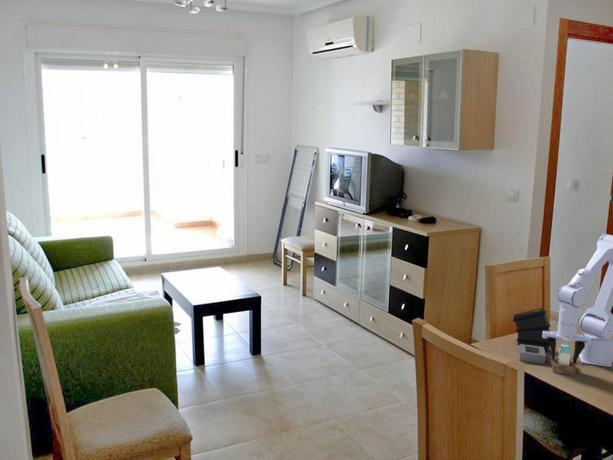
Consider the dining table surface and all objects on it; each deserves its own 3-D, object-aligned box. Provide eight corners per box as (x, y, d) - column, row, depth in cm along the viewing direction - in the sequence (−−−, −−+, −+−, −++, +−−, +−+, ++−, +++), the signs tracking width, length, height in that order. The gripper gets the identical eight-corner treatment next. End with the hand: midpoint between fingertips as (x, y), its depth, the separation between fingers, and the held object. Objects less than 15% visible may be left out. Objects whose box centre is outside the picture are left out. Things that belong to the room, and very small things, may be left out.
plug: (567, 367, 193) (569, 344, 192) (568, 372, 190) (570, 349, 188) (557, 365, 194) (559, 343, 193) (558, 370, 190) (560, 348, 189)
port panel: (543, 355, 203) (543, 347, 202) (544, 364, 195) (545, 355, 195) (519, 351, 205) (519, 344, 205) (519, 360, 198) (520, 352, 197)
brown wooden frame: (572, 365, 194) (573, 358, 194) (574, 375, 187) (575, 368, 187) (551, 362, 196) (551, 356, 196) (553, 372, 189) (553, 365, 189)
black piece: (557, 350, 203) (542, 310, 204) (521, 356, 211) (506, 318, 212) (559, 346, 206) (544, 307, 207) (524, 353, 214) (510, 315, 215)
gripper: (545, 323, 187) (541, 362, 190) (594, 329, 183) (589, 368, 185) (543, 316, 194) (539, 354, 196) (590, 321, 189) (586, 360, 192)
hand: (563, 360), depth 191 cm, fingers open, 6 cm apart
